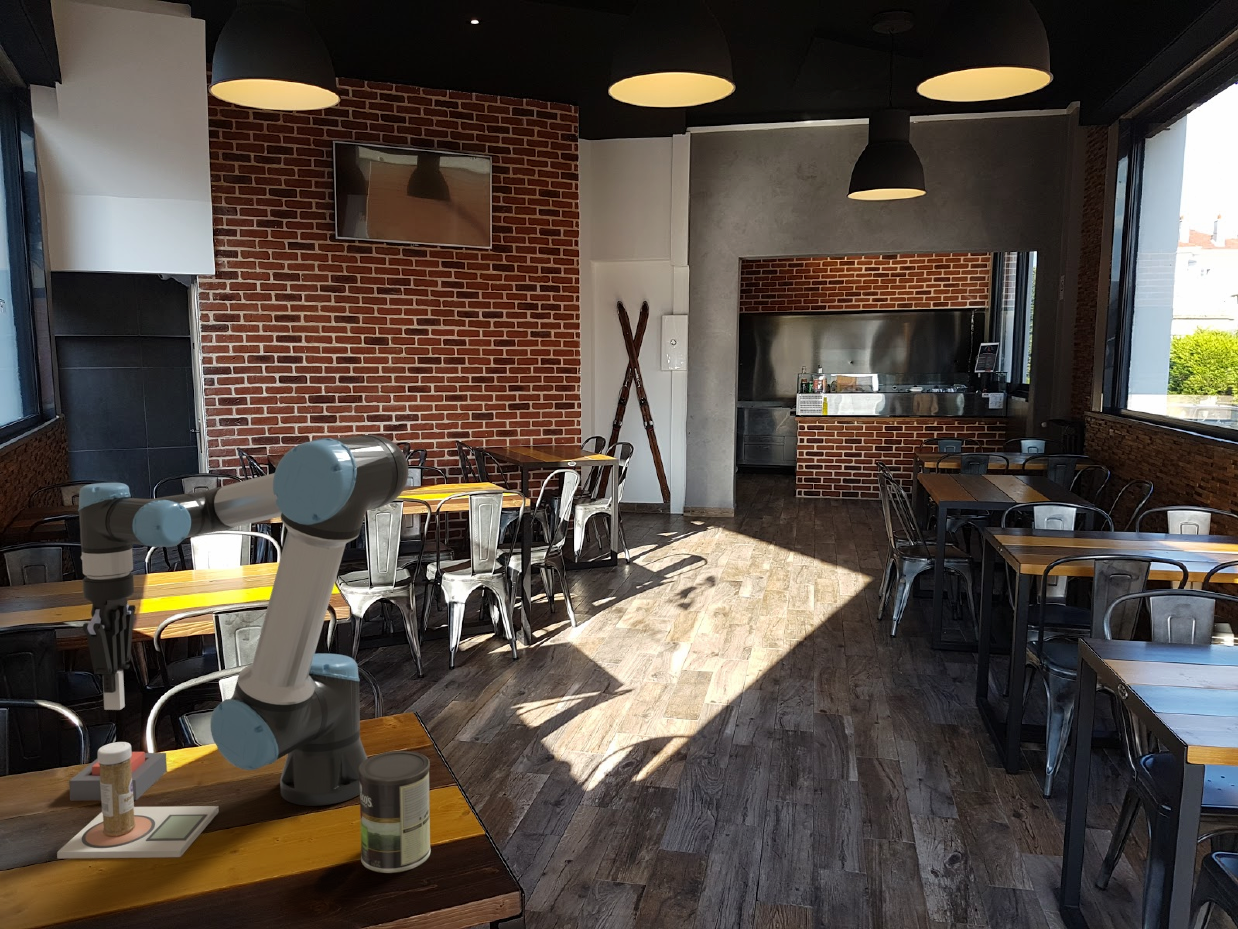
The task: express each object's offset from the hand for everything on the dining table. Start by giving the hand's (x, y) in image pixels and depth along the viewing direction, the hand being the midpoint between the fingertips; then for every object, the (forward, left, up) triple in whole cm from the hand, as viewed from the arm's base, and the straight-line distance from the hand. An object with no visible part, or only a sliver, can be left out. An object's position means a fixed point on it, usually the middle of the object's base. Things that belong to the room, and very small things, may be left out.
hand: (114, 708), depth 159 cm
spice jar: (-9, +18, -13) cm, 24 cm away
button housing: (0, 0, -14) cm, 14 cm away
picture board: (-12, +17, -14) cm, 25 cm away
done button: (0, 0, -12) cm, 12 cm away
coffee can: (-53, +24, -14) cm, 60 cm away
